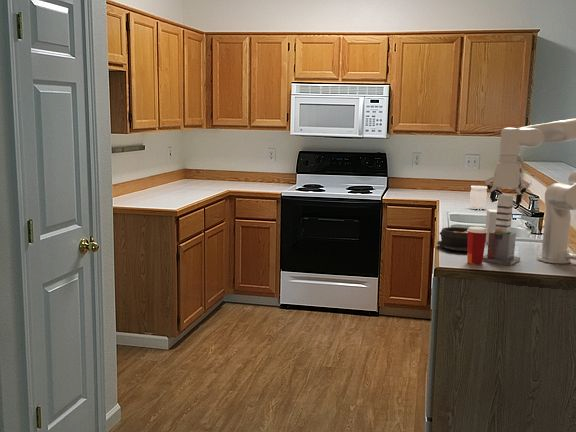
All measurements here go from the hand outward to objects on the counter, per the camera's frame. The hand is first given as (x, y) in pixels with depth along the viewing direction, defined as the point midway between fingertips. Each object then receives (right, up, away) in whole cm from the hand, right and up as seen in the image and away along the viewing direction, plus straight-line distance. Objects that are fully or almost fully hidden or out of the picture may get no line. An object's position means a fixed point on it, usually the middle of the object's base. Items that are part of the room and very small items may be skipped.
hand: (505, 203), depth 248 cm
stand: (-1, -23, +4) cm, 23 cm away
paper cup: (-13, -24, -2) cm, 27 cm away
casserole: (-12, -20, +26) cm, 34 cm away
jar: (+36, -1, +156) cm, 160 cm away
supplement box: (+10, -18, +43) cm, 47 cm away
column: (-1, -15, +2) cm, 15 cm away
